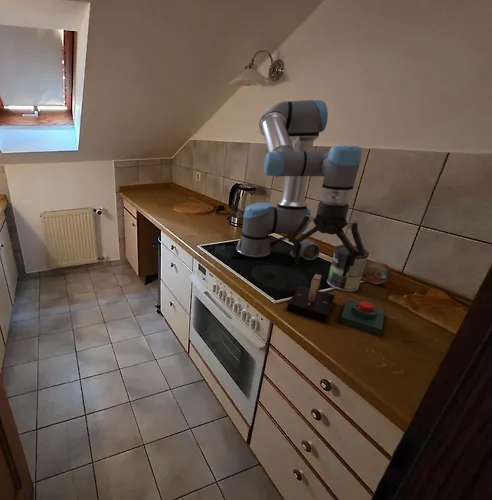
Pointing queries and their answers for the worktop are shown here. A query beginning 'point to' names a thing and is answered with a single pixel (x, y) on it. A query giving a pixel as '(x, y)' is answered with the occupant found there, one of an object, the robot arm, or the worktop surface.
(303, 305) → the black rectangular base
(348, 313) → the block
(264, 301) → the worktop surface
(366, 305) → the button
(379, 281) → the tin
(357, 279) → the coffee can
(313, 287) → the tan upright slab
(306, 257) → the ceramic mug
